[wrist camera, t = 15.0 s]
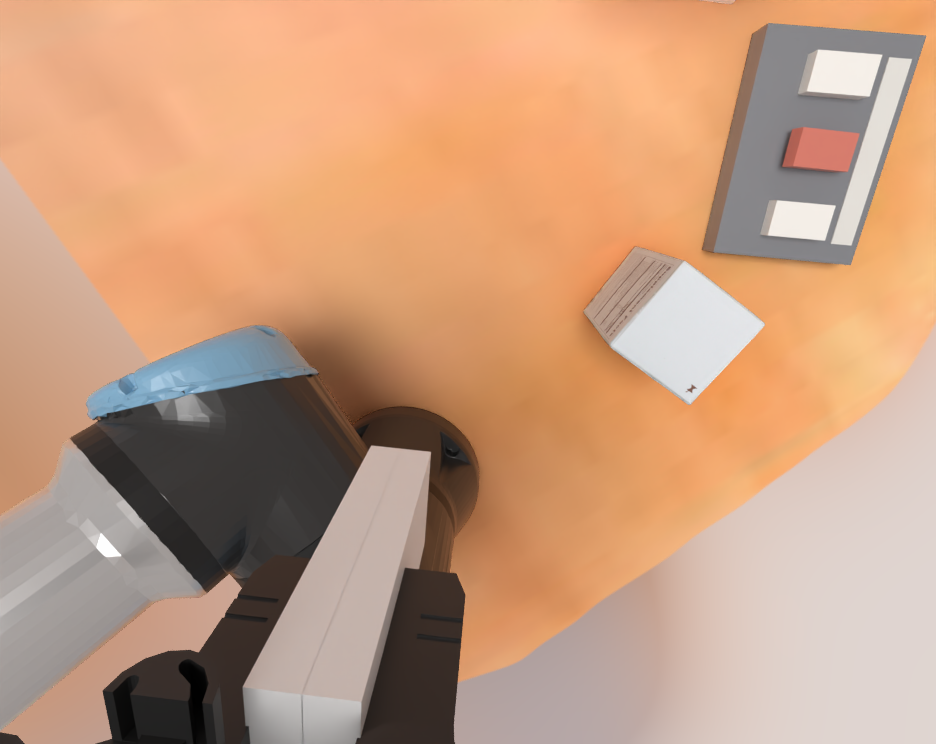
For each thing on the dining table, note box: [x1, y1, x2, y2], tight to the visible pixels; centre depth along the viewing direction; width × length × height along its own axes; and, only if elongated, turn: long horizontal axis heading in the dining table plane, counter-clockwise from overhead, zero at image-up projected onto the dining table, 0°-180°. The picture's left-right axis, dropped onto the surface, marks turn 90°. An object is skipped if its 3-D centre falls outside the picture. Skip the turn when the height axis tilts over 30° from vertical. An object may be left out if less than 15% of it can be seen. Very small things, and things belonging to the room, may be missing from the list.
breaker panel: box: [702, 23, 926, 265], centre depth 39 cm, size 16×11×4 cm
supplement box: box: [583, 247, 765, 405], centre depth 39 cm, size 7×7×13 cm
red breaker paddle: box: [782, 127, 860, 173], centre depth 37 cm, size 3×4×1 cm, turn 85°
